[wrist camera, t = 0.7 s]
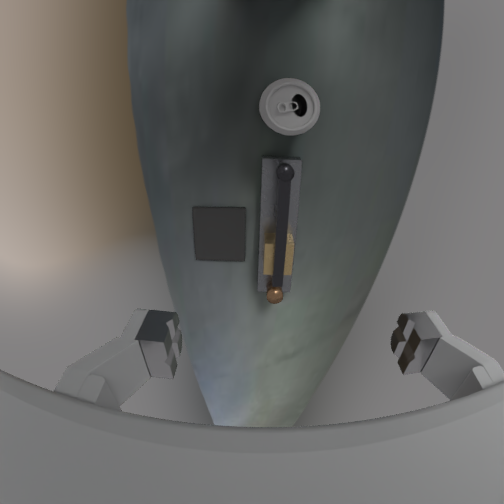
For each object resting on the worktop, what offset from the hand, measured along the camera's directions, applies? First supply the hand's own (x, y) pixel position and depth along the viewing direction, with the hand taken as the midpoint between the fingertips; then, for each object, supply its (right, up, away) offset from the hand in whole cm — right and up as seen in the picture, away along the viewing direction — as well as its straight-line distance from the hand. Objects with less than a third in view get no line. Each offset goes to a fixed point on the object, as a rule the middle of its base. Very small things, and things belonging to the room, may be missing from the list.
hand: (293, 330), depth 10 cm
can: (+3, +25, +31) cm, 40 cm away
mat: (-7, +6, +41) cm, 42 cm away
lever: (+3, +6, +32) cm, 33 cm away
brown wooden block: (+3, +3, +39) cm, 39 cm away
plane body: (+3, +7, +40) cm, 41 cm away
